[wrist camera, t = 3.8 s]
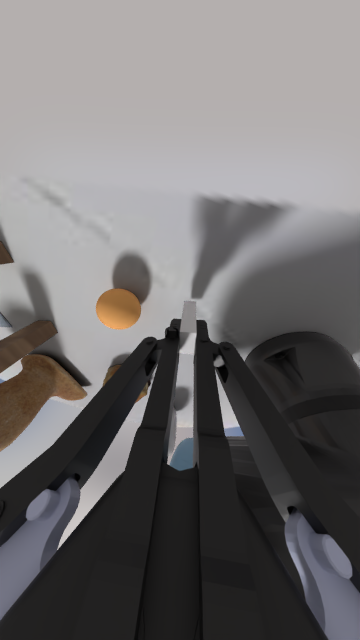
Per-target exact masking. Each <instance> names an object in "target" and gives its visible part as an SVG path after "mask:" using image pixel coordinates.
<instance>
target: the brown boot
mask: <svg viewBox="0 0 360 640" xmlns="http://www.w3.org/2000/svg"><path fill="white" fill-rule="evenodd" d="M21 364H22V366H23V369H22V371H21V372H20V373H19V374H18V375H16V376H14V377H13V378H11V379H9V380H7V381H5V382H3V383H1V384H0V451H2V450H3V449H4V448H6V447H7V446H8V445H10V444H11V443H12V442H13V441H14V440H15V439H16V438H17V437H18V436H19V435H20V434H21V433H22V432H23V431H24V430H25V428H26V427H27V426H28V425H29V424H30V423H31V422H32V420H33V419H34V417H35V416H36V415H37V413H38V412H39V411H40V409H41V407H42V406H43V405H44V404H45V403H46V401H47V400H48V399H49V398H50V397H53V396H58V397H60V398H62V399H65V400H79V399H83V398H85V397H86V396H87V393H86V391H85V390H84V389H83V388H82V387H81V386H80V384H79V383H78V382H77V381H76V380H75V379H74V378H73V377H72V376H71V375H70V374H69V373H68V372H67V371H66V370H65V369H64V368H63V367H61V366H60V365H59V364H58V363H57V362H56V361H54V360H53V359H52V358H50V357H48V356H45V355H40V354H31V355H26V356H24V357H23V358H22V359H21Z"/></svg>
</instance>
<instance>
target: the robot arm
mask: <svg viewBox="0 0 360 640" xmlns="http://www.w3.org/2000/svg"><path fill="white" fill-rule="evenodd" d="M179 353H182V354H194V363H193V364H194V424H193V431H194V432H193V435H194V436H193V438H187V439H185V440H183V441H182V442H181V443H180V444H179V445H178V446H177V448H176V450H175V452H174V454H173V457H172V459H171V462H170V465H168V464H167V459H168V447H169V438H170V429H171V421H172V413H173V404H174V396H175V388H176V379H177V371H178V363H179ZM157 364H158V366H157ZM156 366H157V370H156V373H155V377H154V380H153V384H152V388H151V391H150V395H149V398H148V402H147V406H146V409H145V413H144V416H143V420H142V423H141V425H140V427H139V428H138V429H137V432H136V434H135V437H134V441H133V444H132V447H131V451H130V454H129V458H128V461H127V465H126V468H125V471H124V472H123V473H122V474H121V475H120V476H119V477H118V478H117V479H116V480H115V481H114V482H113V483H112V485H111V486H110V487H109V488H108V490H107V491H106V492H105V493H104V495H103V496H102V497H101V498H100V499H99V500H98V502H97V503H96V504H95V505H94V507H93V508H92V509H91V510H90V511H89V513H88V514H87V515H86V516H85V518H84V519H83V520H82V521H81V522H80V524H79V525H78V526H77V527H76V529H75V530H74V531H73V532H72V533H71V535H70V536H69V537H68V538H67V539H66V541H65V542H64V543H63V544H62V546H61V547H60V548H59V549H58V550H57V548H58V545H59V541H60V539H61V536H62V534H63V532H64V530H65V528H66V527H67V525H68V523H69V522H70V520H71V519H72V517H73V515H74V514H75V511H76V509H77V507H78V503H79V500H80V489H81V488H82V487H83V486H84V484H85V483H86V482H87V480H88V479H89V478H90V476H91V475H92V474H93V472H94V471H95V469H96V468H97V466H98V464H99V463H100V461H101V460H102V458H103V456H104V455H105V453H106V451H107V450H108V448H109V446H110V445H111V443H112V441H113V439H114V438H115V436H116V434H117V433H118V431H119V429H120V428H121V426H122V424H123V422H124V421H125V419H126V417H127V416H128V414H129V412H130V411H131V409H132V407H133V405H134V404H135V402H136V400H137V399H138V397H139V395H140V393H141V392H142V390H143V388H144V387H145V385H146V383H147V382H148V380H149V378H150V376H151V375H152V373H153V371H154V370H155V368H156ZM215 370H216V372H217V374H218V377H219V379H220V381H221V384H222V386H223V388H224V391H225V393H226V395H227V397H228V400H229V402H230V404H231V407H232V409H233V411H234V414H235V416H236V418H237V421H238V423H239V425H240V428H241V430H242V432H243V434H244V436H230V437H229V436H228V437H226V436H225V433H224V427H223V421H222V414H221V407H220V400H219V394H218V387H217V380H216V374H215ZM0 640H360V368H359V367H358V365H357V364H356V363H355V361H354V360H353V357H352V355H351V354H350V353H349V351H348V350H347V349H345V348H344V347H343V346H342V345H340V344H339V343H338V342H336V341H335V340H334V339H332V338H331V337H329V336H326V335H323V334H320V333H314V332H297V333H290V334H286V335H282V336H279V337H276V338H273V339H271V340H269V341H267V342H265V343H263V344H261V345H260V346H258V347H257V348H256V349H254V350H253V351H252V352H251V353H250V354H249V356H248V357H247V359H246V361H245V362H244V360H243V359H242V357H241V356H240V354H239V353H238V352H237V350H236V349H235V347H234V346H233V345H232V344H231V343H228V342H221V343H220V344H216V343H213V342H212V341H211V340H210V338H209V336H208V329H207V323H206V322H205V320H196V301H184V307H183V313H182V319H173V320H172V321H171V324H170V327H168V328H166V330H165V338H164V339H161V340H157V339H156V338H154V337H147V338H145V339H144V340H143V341H142V342H141V343H140V344H139V345H138V347H137V348H136V349H135V350H134V351H133V352H132V353H131V355H130V356H129V357H128V358H127V359H126V360H125V362H124V363H123V364H122V365H121V366H120V367H119V369H118V370H117V371H116V372H115V373H114V374H113V376H112V377H111V378H110V379H109V380H108V381H107V382H106V384H105V385H104V386H103V387H102V388H101V389H100V391H99V392H98V393H97V394H96V395H95V396H94V398H93V399H92V400H91V401H90V402H89V403H88V405H87V406H86V407H85V408H84V409H83V410H82V412H81V413H80V414H79V415H78V416H77V417H76V418H75V420H74V421H73V422H72V423H71V424H70V425H69V427H68V428H67V429H66V430H65V431H64V433H63V434H62V435H61V436H60V437H59V438H58V439H57V441H56V442H55V443H54V444H53V445H52V446H51V447H50V448H49V449H47V450H46V451H45V452H44V453H43V454H41V455H40V456H39V457H38V458H36V459H35V460H34V461H33V462H32V463H30V464H29V465H28V466H27V467H26V468H25V469H23V470H22V471H21V472H20V473H18V474H17V475H16V476H15V477H14V478H12V479H11V480H10V481H9V482H7V483H6V484H5V485H4V486H3V487H1V488H0Z"/></svg>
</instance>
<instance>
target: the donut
mask: <svg viewBox="0 0 360 640" xmlns="http://www.w3.org/2000/svg"><path fill="white" fill-rule="evenodd" d="M176 424H177V419H176V410H175V408H174V407H173V413H172V421H171V429H170V438H169V447H168V456H170V455H171V454H172V452H173V450H174V446H175V439H176Z"/></svg>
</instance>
